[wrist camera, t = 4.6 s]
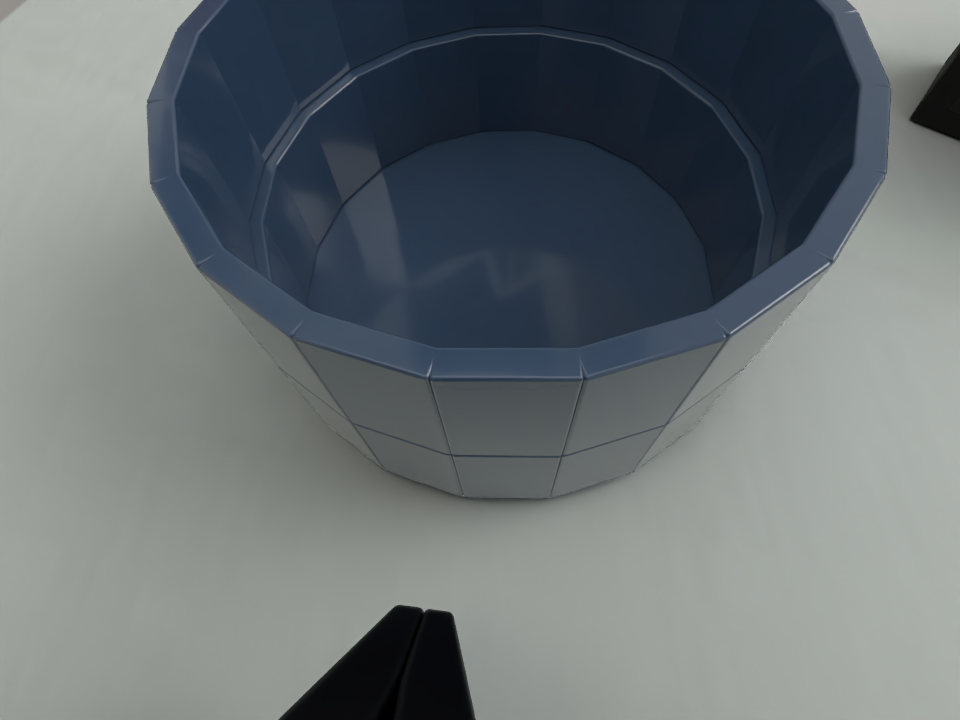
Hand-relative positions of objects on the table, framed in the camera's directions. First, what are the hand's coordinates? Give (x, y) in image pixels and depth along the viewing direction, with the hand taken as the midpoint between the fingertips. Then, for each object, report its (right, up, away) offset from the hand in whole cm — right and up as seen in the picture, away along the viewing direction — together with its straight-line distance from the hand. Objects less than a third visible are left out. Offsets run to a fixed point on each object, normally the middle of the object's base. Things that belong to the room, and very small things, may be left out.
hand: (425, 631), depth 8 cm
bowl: (+2, +7, +11) cm, 13 cm away
